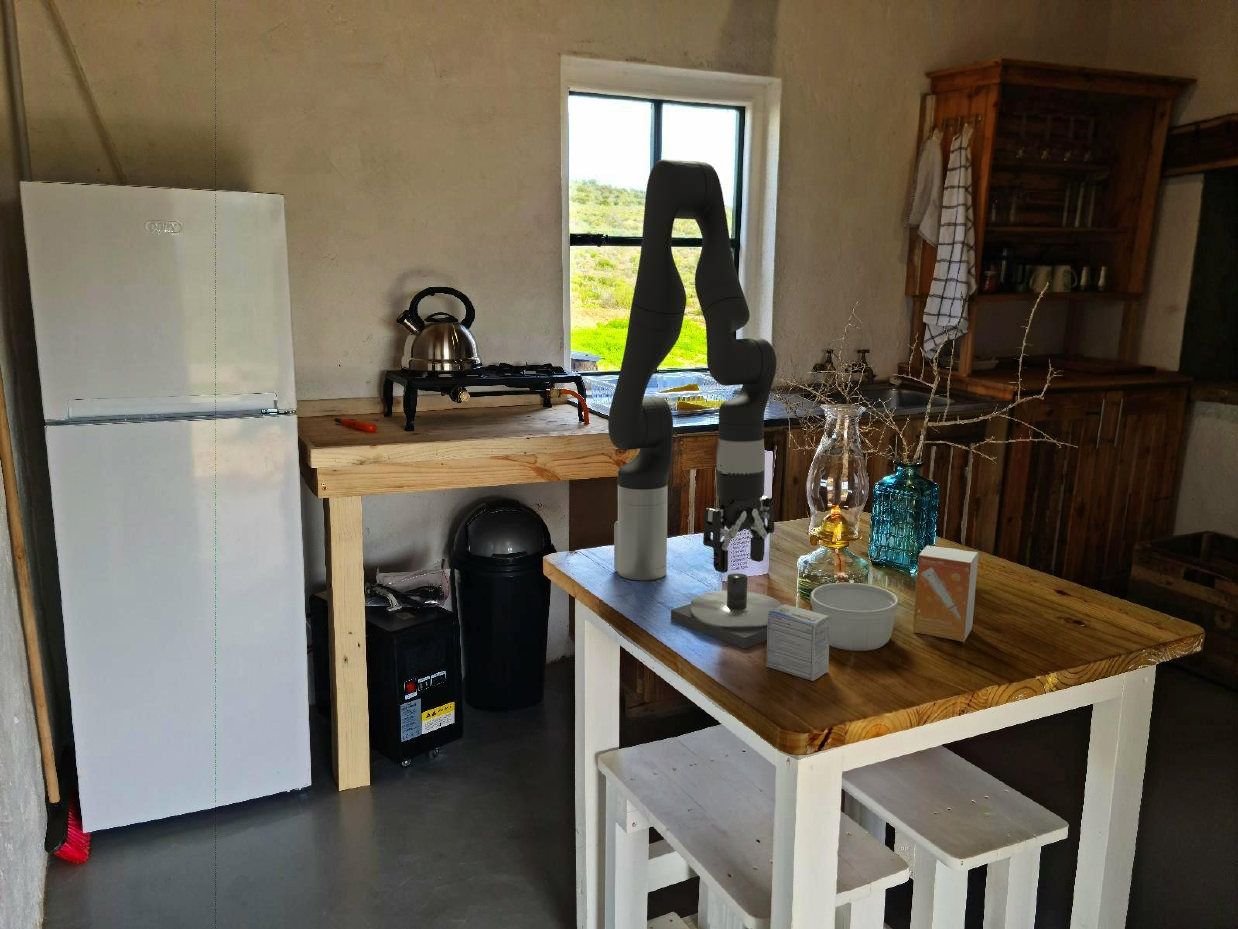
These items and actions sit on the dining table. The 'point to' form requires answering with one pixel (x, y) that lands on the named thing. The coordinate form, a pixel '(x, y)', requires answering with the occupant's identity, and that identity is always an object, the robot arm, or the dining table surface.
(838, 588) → the ramekin
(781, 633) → the medicine box
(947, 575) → the small box
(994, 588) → the dining table surface
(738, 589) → the lid
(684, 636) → the dining table surface
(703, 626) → the mat
